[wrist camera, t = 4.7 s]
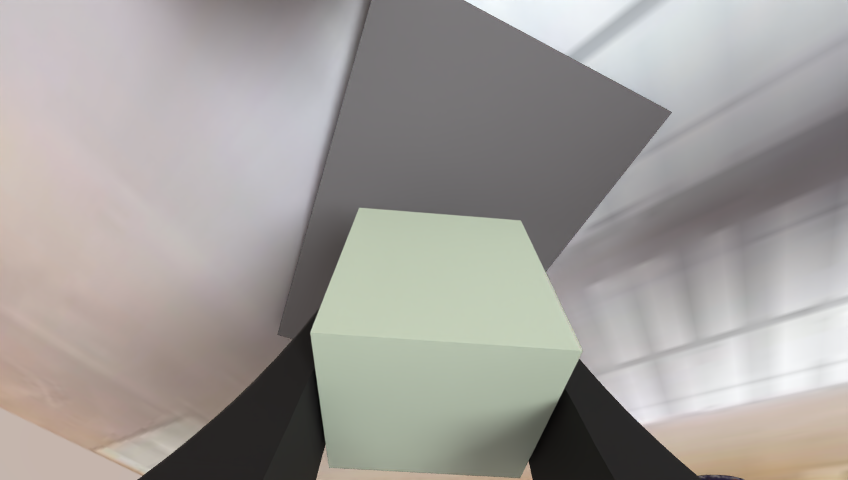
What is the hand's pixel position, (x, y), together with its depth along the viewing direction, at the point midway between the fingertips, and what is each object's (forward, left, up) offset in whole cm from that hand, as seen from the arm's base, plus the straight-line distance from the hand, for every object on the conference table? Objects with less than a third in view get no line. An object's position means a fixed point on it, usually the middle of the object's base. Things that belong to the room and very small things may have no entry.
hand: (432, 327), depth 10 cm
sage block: (0, 0, -2) cm, 2 cm away
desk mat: (0, 0, -5) cm, 5 cm away
